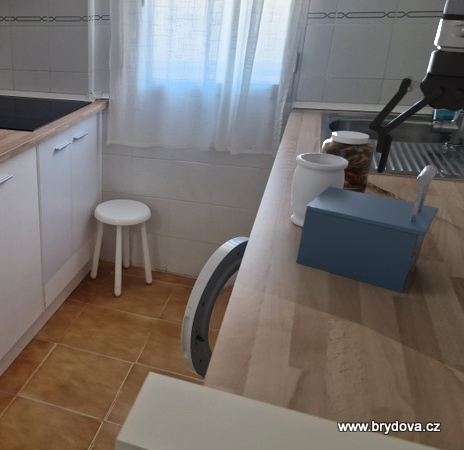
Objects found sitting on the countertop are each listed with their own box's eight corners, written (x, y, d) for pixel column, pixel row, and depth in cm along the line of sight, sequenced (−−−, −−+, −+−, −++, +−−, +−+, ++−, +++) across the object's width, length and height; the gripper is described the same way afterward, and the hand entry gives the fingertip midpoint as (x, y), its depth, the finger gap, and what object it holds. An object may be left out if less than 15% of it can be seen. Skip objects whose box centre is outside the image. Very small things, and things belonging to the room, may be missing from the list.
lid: (437, 212, 99) (451, 163, 95) (424, 236, 89) (439, 183, 85) (328, 190, 110) (337, 145, 106) (306, 209, 100) (315, 161, 96)
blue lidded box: (416, 264, 104) (431, 211, 99) (401, 292, 94) (418, 235, 90) (318, 239, 114) (328, 190, 110) (296, 262, 105) (306, 209, 100)
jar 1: (331, 235, 116) (345, 168, 110) (281, 225, 121) (292, 161, 115) (337, 219, 124) (351, 156, 118) (290, 210, 129) (301, 149, 123)
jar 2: (330, 180, 150) (341, 127, 144) (372, 192, 141) (386, 136, 135) (305, 188, 143) (315, 133, 138) (347, 201, 135) (360, 142, 129)
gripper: (367, 46, 89) (341, 169, 97) (567, 57, 74) (515, 202, 83) (378, 42, 94) (352, 160, 103) (566, 53, 79) (517, 189, 88)
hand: (424, 179), depth 93 cm, fingers open, 13 cm apart
